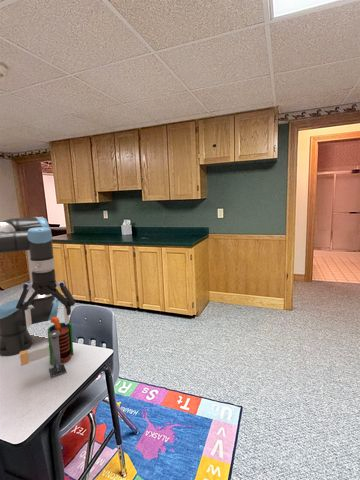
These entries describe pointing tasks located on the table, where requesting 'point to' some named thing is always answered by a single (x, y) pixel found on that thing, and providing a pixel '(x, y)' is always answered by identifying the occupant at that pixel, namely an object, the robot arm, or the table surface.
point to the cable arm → (34, 354)
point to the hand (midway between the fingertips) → (48, 324)
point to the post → (56, 355)
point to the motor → (62, 340)
